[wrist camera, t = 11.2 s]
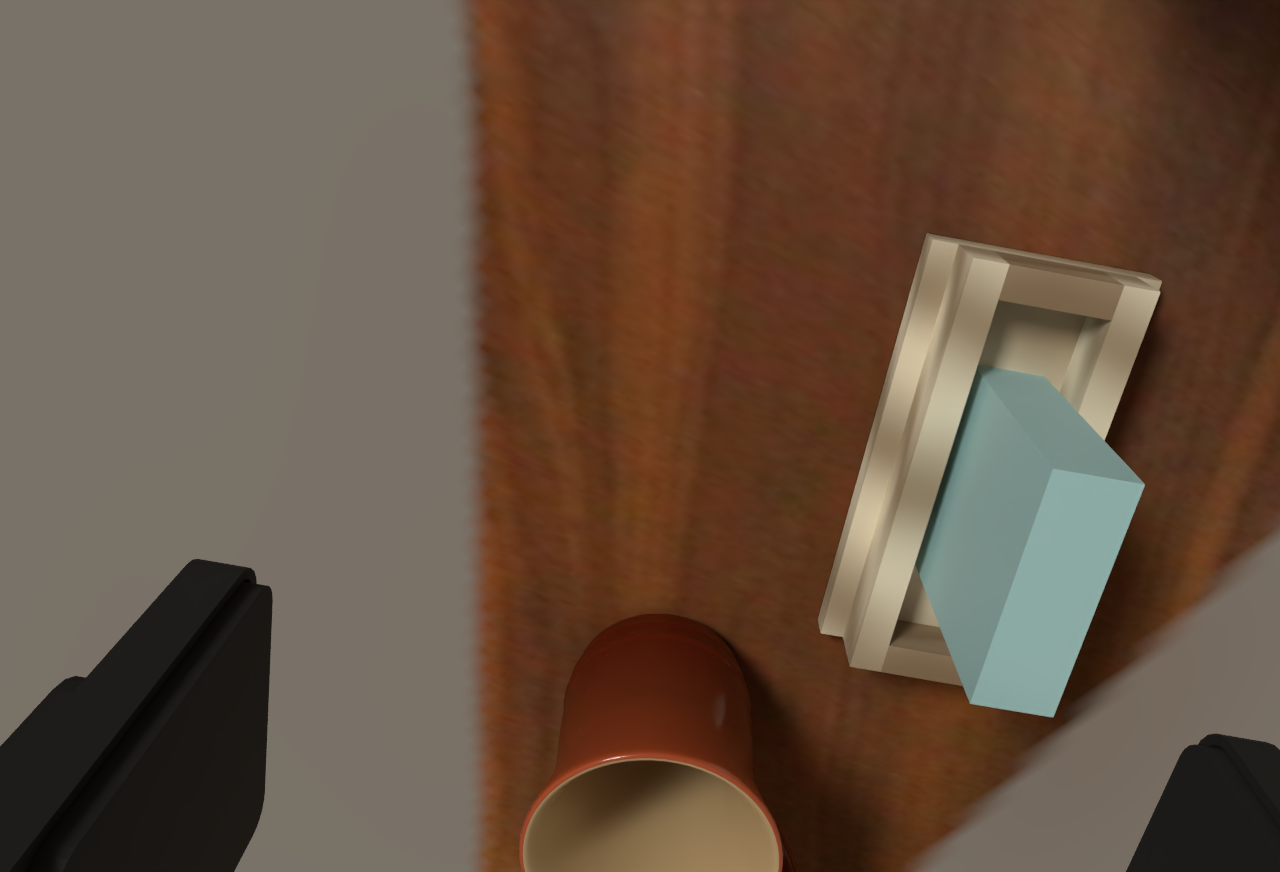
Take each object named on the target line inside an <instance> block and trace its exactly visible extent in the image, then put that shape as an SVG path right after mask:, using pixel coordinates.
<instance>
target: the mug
mask: <svg viewBox="0 0 1280 872" xmlns="http://www.w3.org/2000/svg"><path fill="white" fill-rule="evenodd" d="M751 719H752V706H751V699H750V695H749V691H748V689H747V686H746V682H745V678H744V676H743V673H742V671H741V669H740V667H739V665H738V662H737V660H736V658H735V656H734V654H733V653H732V651H731V650H730V648H729V647H728V646H727V644H726V643H725V642H724V641H723V640H722V639H721V638H720V637H719V636H718V635H716V634H715V633H714V632H713V631H711V630H710V629H708V628H707V627H705V626H703V625H701V624H699V623H697V622H695V621H693V620H690V619H687V618H684V617H679V616H675V615H668V614H646V615H639V616H634V617H631V618H627V619H624V620H622V621H619V622H617V623H615V624H613V625H611V626H610V627H608V628H606V629H605V630H604V631H602V632H601V633H600V634H598V635H597V636H596V637H595V638H594V639H593V640H592V641H591V643H590V644H589V645H588V646H587V648H586V649H585V651H584V652H583V654H582V656H581V657H580V659H579V660H578V662H577V664H576V666H575V668H574V670H573V673H572V675H571V678H570V681H569V683H568V686H567V689H566V692H565V698H564V711H563V717H562V723H561V729H560V736H559V745H558V755H557V763H556V767H555V770H554V772H553V774H552V776H551V778H550V779H549V781H548V782H547V784H546V785H545V787H544V788H543V790H542V791H541V792H540V794H539V795H538V797H537V798H536V799H535V801H534V803H533V804H532V806H531V808H530V810H529V812H528V814H527V816H526V818H525V821H524V824H523V827H522V831H521V835H520V842H519V856H520V865H521V869H522V872H799V869H798V866H797V864H796V861H795V859H794V857H793V854H792V852H791V850H790V848H789V846H788V844H787V842H786V840H785V838H784V836H783V835H782V833H781V831H780V830H779V828H778V827H777V825H776V822H775V820H774V818H773V816H772V814H771V812H770V810H769V808H768V807H767V805H766V803H765V801H764V800H763V798H762V796H761V794H760V792H759V790H758V788H757V786H756V784H755V781H754V776H753V737H752V723H751Z"/></svg>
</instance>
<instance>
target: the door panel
mask: <svg viewBox="0 0 1280 872" xmlns="http://www.w3.org/2000/svg"><path fill="white" fill-rule="evenodd" d="M1144 486H1145V484H1144V483H1143V482H1142V481H1141V480H1140V479H1139V478H1138V476H1137V475H1136V474H1135V473H1134V472H1133V471H1132V470H1131V469H1130V468H1129V467H1128V466H1127V465H1126V464H1125V462H1124V461H1123V460H1122V459H1121V458H1120V457H1119V456H1118V455H1117V454H1116V453H1115V452H1114V451H1113V450H1112V448H1111V447H1110V446H1109V445H1108V444H1107V443H1106V442H1105V441H1104V440H1103V439H1102V438H1101V437H1100V436H1099V435H1098V433H1097V432H1096V431H1095V430H1094V429H1093V428H1092V427H1091V426H1090V425H1089V424H1088V423H1087V422H1086V421H1085V419H1084V418H1083V417H1082V416H1081V415H1080V414H1079V413H1078V412H1077V411H1076V410H1075V409H1074V408H1073V407H1072V406H1071V404H1070V403H1069V402H1068V401H1067V400H1066V399H1065V398H1064V397H1063V396H1062V395H1061V394H1060V393H1059V392H1058V390H1057V389H1056V388H1055V387H1054V386H1053V385H1052V384H1051V383H1050V382H1049V381H1048V380H1047V379H1046V378H1045V376H1040V375H1035V374H1029V373H1023V372H1018V371H1012V370H1006V369H1000V368H995V367H989V366H983V365H978V366H977V369H976V372H975V376H974V379H973V382H972V385H971V388H970V391H969V395H968V398H967V401H966V404H965V407H964V410H963V413H962V417H961V420H960V423H959V426H958V429H957V432H956V436H955V439H954V442H953V445H952V448H951V451H950V455H949V458H948V461H947V464H946V467H945V470H944V474H943V477H942V480H941V483H940V486H939V489H938V492H937V496H936V499H935V502H934V505H933V508H932V511H931V515H930V518H929V521H928V524H927V527H926V530H925V534H924V537H923V540H922V543H921V546H920V549H919V552H918V556H917V559H916V562H915V566H916V568H917V571H918V573H919V576H920V578H921V581H922V583H923V586H924V588H925V591H926V594H927V596H928V599H929V601H930V604H931V606H932V609H933V611H934V614H935V616H936V619H937V621H938V624H939V626H940V629H941V632H942V634H943V637H944V639H945V642H946V644H947V647H948V649H949V652H950V654H951V657H952V659H953V662H954V664H955V667H956V670H957V672H958V675H959V677H960V680H961V682H962V685H963V687H964V690H965V692H966V695H967V697H968V700H969V703H970V704H975V705H981V706H987V707H993V708H999V709H1005V710H1011V711H1017V712H1023V713H1029V714H1035V715H1041V716H1047V717H1054V715H1055V712H1056V709H1057V707H1058V704H1059V702H1060V699H1061V697H1062V694H1063V692H1064V689H1065V687H1066V684H1067V681H1068V679H1069V676H1070V674H1071V671H1072V669H1073V666H1074V664H1075V661H1076V659H1077V656H1078V654H1079V651H1080V648H1081V646H1082V643H1083V641H1084V638H1085V636H1086V633H1087V631H1088V628H1089V626H1090V623H1091V621H1092V618H1093V615H1094V613H1095V610H1096V608H1097V605H1098V603H1099V600H1100V598H1101V595H1102V593H1103V590H1104V588H1105V585H1106V582H1107V580H1108V577H1109V575H1110V572H1111V570H1112V567H1113V565H1114V562H1115V560H1116V557H1117V555H1118V552H1119V549H1120V547H1121V544H1122V542H1123V539H1124V537H1125V534H1126V532H1127V529H1128V527H1129V524H1130V522H1131V519H1132V516H1133V514H1134V511H1135V509H1136V506H1137V504H1138V501H1139V499H1140V496H1141V494H1142V491H1143V489H1144Z"/></svg>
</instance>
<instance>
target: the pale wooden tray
mask: <svg viewBox="0 0 1280 872" xmlns="http://www.w3.org/2000/svg"><path fill="white" fill-rule="evenodd" d="M1161 283H1162V281H1160V280H1159V279H1157V278H1155V277H1154V276H1152V275H1150V274H1145V273H1140V272H1134V271H1129V270H1123V269H1118V268H1112V267H1107V266H1102V265H1096V264H1091V263H1085V262H1080V261H1074V260H1069V259H1064V258H1058V257H1053V256H1047V255H1042V254H1036V253H1031V252H1026V251H1020V250H1015V249H1009V248H1004V247H998V246H993V245H987V244H982V243H977V242H971V241H966V240H960V239H955V238H949V237H944V236H939V235H933V234H928V233H927V234H926V237H925V241H924V245H923V248H922V252H921V255H920V259H919V262H918V266H917V269H916V273H915V277H914V280H913V284H912V287H911V291H910V294H909V298H908V301H907V305H906V308H905V312H904V316H903V319H902V323H901V326H900V330H899V333H898V337H897V340H896V344H895V348H894V351H893V355H892V358H891V362H890V365H889V369H888V372H887V376H886V379H885V383H884V387H883V390H882V394H881V397H880V401H879V404H878V408H877V411H876V415H875V418H874V422H873V426H872V429H871V433H870V436H869V440H868V443H867V447H866V450H865V454H864V458H863V461H862V465H861V468H860V472H859V475H858V479H857V482H856V486H855V489H854V493H853V497H852V500H851V504H850V507H849V511H848V514H847V518H846V521H845V525H844V529H843V532H842V536H841V539H840V543H839V546H838V550H837V553H836V557H835V560H834V564H833V568H832V571H831V575H830V578H829V582H828V585H827V589H826V592H825V596H824V599H823V603H822V607H821V610H820V614H819V617H818V623H819V628H820V632H821V633H822V634H828V635H834V636H840V637H843V640H844V644H845V648H846V653H847V657H848V661H849V665H850V667H855V668H861V669H867V670H873V671H878V672H884V673H890V674H896V675H901V676H907V677H913V678H919V679H925V680H930V681H936V682H942V683H948V684H953V685H959V686H963V685H962V682H961V680H960V677H959V675H958V672H957V670H956V667H955V664H954V662H953V659H952V657H951V654H950V652H949V649H948V647H947V644H946V642H945V639H944V637H943V634H942V632H941V629H940V626H939V624H938V621H937V619H936V616H935V614H934V611H933V609H932V606H931V604H930V601H929V599H928V596H927V594H926V591H925V588H924V586H923V583H922V581H921V578H920V576H919V573H918V571H917V568H916V566H915V562H916V559H917V556H918V552H919V549H920V546H921V543H922V540H923V537H924V534H925V530H926V527H927V524H928V521H929V518H930V515H931V511H932V508H933V505H934V502H935V499H936V496H937V492H938V489H939V486H940V483H941V480H942V477H943V474H944V470H945V467H946V464H947V461H948V458H949V455H950V451H951V448H952V445H953V442H954V439H955V436H956V432H957V429H958V426H959V423H960V420H961V417H962V413H963V410H964V407H965V404H966V401H967V398H968V395H969V391H970V388H971V385H972V382H973V379H974V376H975V372H976V369H977V366H978V365H983V366H989V367H995V368H1000V369H1006V370H1012V371H1018V372H1023V373H1029V374H1035V375H1040V376H1045V378H1046V379H1047V380H1048V381H1049V382H1050V383H1051V384H1052V385H1053V386H1054V387H1055V388H1056V389H1057V390H1058V392H1059V393H1060V394H1061V395H1062V396H1063V397H1064V398H1065V399H1066V400H1067V401H1068V402H1069V403H1070V404H1071V406H1072V407H1073V408H1074V409H1075V410H1076V411H1077V412H1078V413H1079V414H1080V415H1081V416H1082V417H1083V418H1084V419H1085V421H1086V422H1087V423H1088V424H1089V425H1090V426H1091V427H1092V428H1093V429H1094V430H1095V431H1096V432H1097V433H1098V435H1099V436H1100V437H1101V438H1102V439H1103V440H1104V441H1105V438H1106V436H1107V433H1108V430H1109V428H1110V425H1111V422H1112V420H1113V417H1114V414H1115V412H1116V409H1117V406H1118V404H1119V401H1120V398H1121V396H1122V393H1123V391H1124V388H1125V385H1126V383H1127V380H1128V377H1129V375H1130V372H1131V369H1132V367H1133V364H1134V361H1135V359H1136V356H1137V353H1138V351H1139V348H1140V346H1141V343H1142V340H1143V338H1144V335H1145V332H1146V330H1147V327H1148V324H1149V322H1150V319H1151V316H1152V314H1153V311H1154V308H1155V306H1156V303H1157V301H1158V298H1159V295H1160V293H1161V292H1160V291H1159V289H1160V286H1161Z"/></svg>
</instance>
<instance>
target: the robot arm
mask: <svg viewBox="0 0 1280 872" xmlns="http://www.w3.org/2000/svg"><path fill="white" fill-rule="evenodd" d="M271 625H272V591H271V588H270V587H269V586H265V585H259V584H256V576H255V572H254V571H253V570H252V569H251V568H247V567H241V566H235V565H229V564H224V563H218V562H212V561H206V560H200V559H194V560H192V561H191V562H189V563H188V564H187V565H186V566H185V567H184V568H183V569H182V571H181V572H180V573H179V574H178V575H177V576H176V577H175V578H174V580H173V581H172V582H171V583H170V584H169V585H168V586H167V587H166V588H165V590H164V591H163V592H162V593H161V594H160V595H159V596H158V597H157V599H156V600H155V601H154V602H153V603H152V604H151V605H150V606H149V608H148V609H147V610H146V611H145V612H144V613H143V614H142V615H141V617H140V618H139V619H138V620H137V621H136V622H135V623H134V624H133V626H132V627H131V628H130V629H129V630H128V631H127V633H125V635H124V636H123V637H122V638H121V639H120V640H119V641H118V642H117V644H116V645H115V646H114V647H113V648H112V649H111V650H110V651H109V653H108V654H107V655H106V656H105V657H104V658H103V659H102V661H101V662H100V663H99V664H98V665H97V666H96V667H95V668H94V669H93V671H92V672H91V673H90V674H89V675H88V676H87V677H86V678H84V677H78V676H74V677H71V678H68V679H65V680H64V681H63V682H61V683H60V684H59V685H58V686H56V688H54V689H53V690H52V691H51V692H50V693H49V694H48V695H47V696H46V698H45V699H44V700H43V701H42V702H41V703H40V704H39V705H38V706H37V707H36V708H35V709H34V711H33V712H32V713H31V714H30V715H29V716H28V717H27V718H26V719H25V720H24V721H23V723H22V724H21V725H20V726H19V727H18V728H17V729H16V730H15V731H14V732H13V733H12V734H11V736H10V737H9V738H8V739H7V740H6V741H5V742H4V743H3V744H2V745H1V746H0V872H234V871H235V869H236V867H237V865H238V863H239V861H240V859H241V857H242V855H243V853H244V851H245V849H246V848H247V846H248V844H249V842H250V840H251V838H252V836H253V834H254V832H255V830H256V827H257V824H258V822H259V819H260V815H261V812H262V807H263V802H264V794H265V772H266V748H267V746H266V745H267V724H268V699H269V698H268V697H269V674H270V649H271ZM1126 872H1280V750H1279V749H1278V748H1277V747H1276V746H1275V745H1272V744H1270V743H1267V742H1261V741H1256V740H1250V739H1244V738H1238V737H1232V736H1225V735H1221V734H1211V735H1207V736H1206V737H1205V738H1203V739H1202V740H1201V741H1200V742H1199V744H1198V745H1190V746H1188V747H1187V748H1186V749H1184V751H1183V752H1182V754H1181V755H1180V757H1179V759H1178V761H1177V764H1176V766H1175V768H1174V770H1173V772H1172V774H1171V776H1170V779H1169V781H1168V783H1167V785H1166V787H1165V789H1164V791H1163V794H1162V796H1161V798H1160V800H1159V802H1158V804H1157V806H1156V809H1155V811H1154V813H1153V815H1152V817H1151V819H1150V821H1149V824H1148V826H1147V828H1146V830H1145V832H1144V835H1143V836H1142V839H1141V841H1140V843H1139V845H1138V847H1137V850H1136V851H1135V854H1134V856H1133V858H1132V860H1131V863H1130V864H1129V867H1128V869H1127V871H1126Z"/></svg>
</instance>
